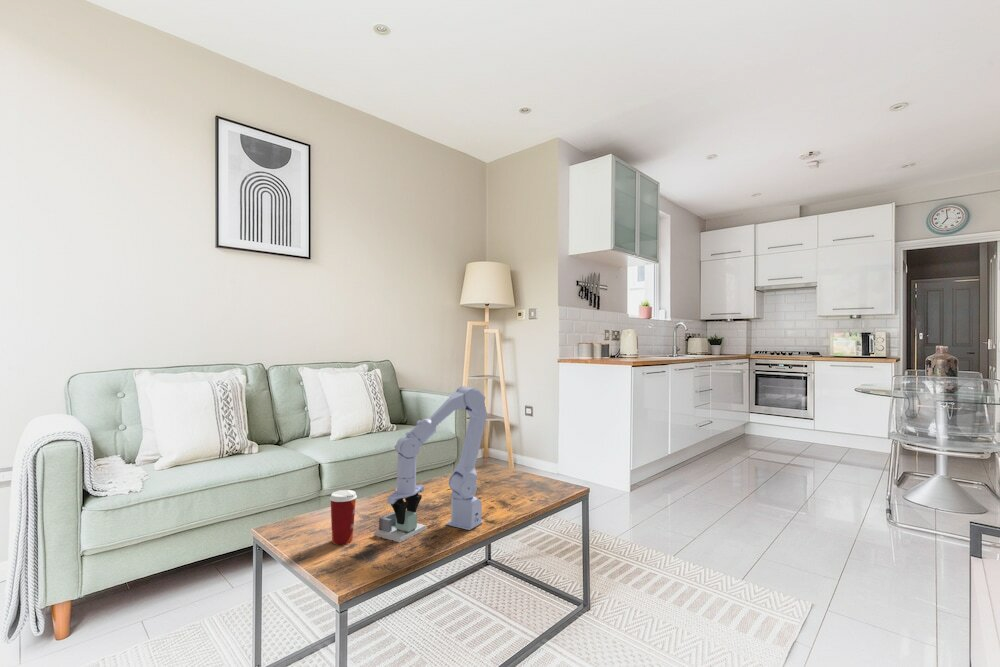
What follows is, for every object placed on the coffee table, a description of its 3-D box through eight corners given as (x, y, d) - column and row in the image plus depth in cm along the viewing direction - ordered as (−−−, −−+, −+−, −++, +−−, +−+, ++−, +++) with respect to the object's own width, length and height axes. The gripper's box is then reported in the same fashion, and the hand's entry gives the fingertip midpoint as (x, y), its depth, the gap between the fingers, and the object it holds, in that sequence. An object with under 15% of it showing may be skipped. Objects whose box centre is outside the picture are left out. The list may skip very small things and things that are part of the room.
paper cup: (361, 541, 140) (362, 493, 140) (337, 549, 134) (338, 498, 134) (347, 534, 145) (348, 487, 145) (323, 541, 139) (324, 493, 140)
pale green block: (416, 529, 146) (417, 512, 146) (408, 533, 143) (408, 516, 143) (404, 526, 149) (404, 510, 149) (395, 530, 145) (395, 513, 145)
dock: (425, 529, 149) (426, 514, 150) (399, 542, 139) (400, 526, 139) (401, 523, 154) (401, 508, 154) (374, 535, 144) (374, 519, 144)
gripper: (412, 469, 155) (411, 512, 154) (380, 480, 142) (379, 526, 141) (429, 472, 151) (428, 516, 151) (398, 483, 138) (397, 530, 138)
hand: (405, 521), depth 146 cm, fingers closed on pale green block, 4 cm apart
